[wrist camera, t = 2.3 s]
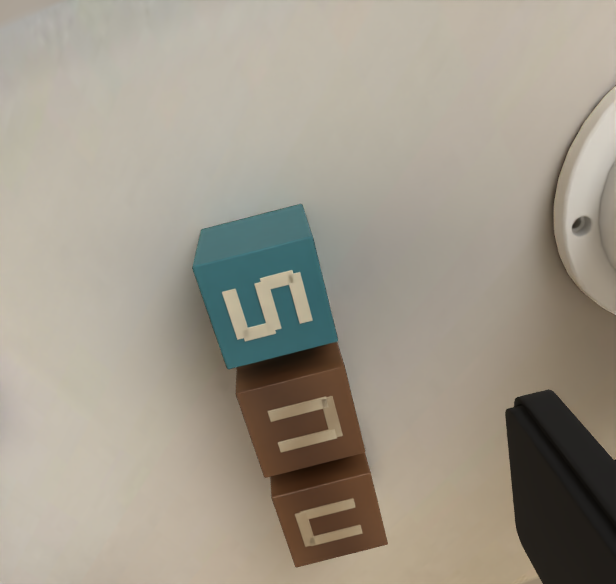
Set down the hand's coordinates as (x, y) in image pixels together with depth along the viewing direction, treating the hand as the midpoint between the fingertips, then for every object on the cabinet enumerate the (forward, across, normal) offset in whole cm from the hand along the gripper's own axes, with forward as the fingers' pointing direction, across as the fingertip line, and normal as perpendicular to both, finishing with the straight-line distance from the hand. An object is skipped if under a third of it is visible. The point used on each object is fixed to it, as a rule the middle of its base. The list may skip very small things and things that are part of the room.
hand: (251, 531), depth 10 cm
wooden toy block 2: (+16, -1, +13) cm, 21 cm away
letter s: (+16, 0, +2) cm, 16 cm away
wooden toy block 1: (+16, 0, +7) cm, 18 cm away
